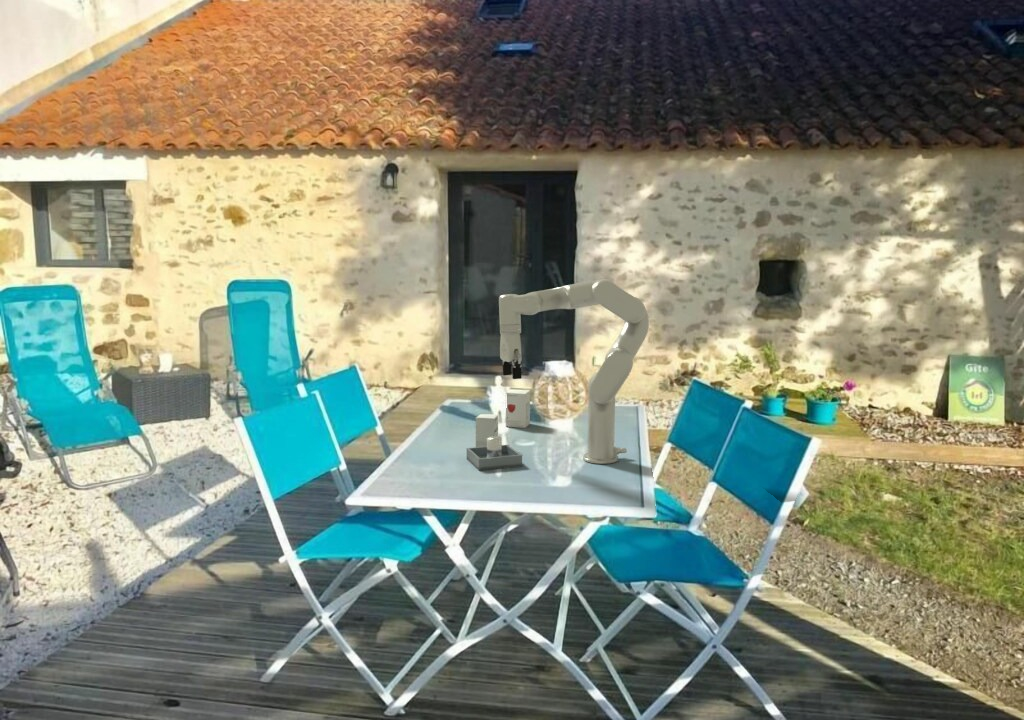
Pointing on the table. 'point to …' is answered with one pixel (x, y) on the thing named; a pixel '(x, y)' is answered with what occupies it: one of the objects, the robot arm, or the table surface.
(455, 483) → the table surface
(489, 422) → the supplement box
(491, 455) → the tin can
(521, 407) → the supplement box
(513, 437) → the table surface
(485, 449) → the tray
